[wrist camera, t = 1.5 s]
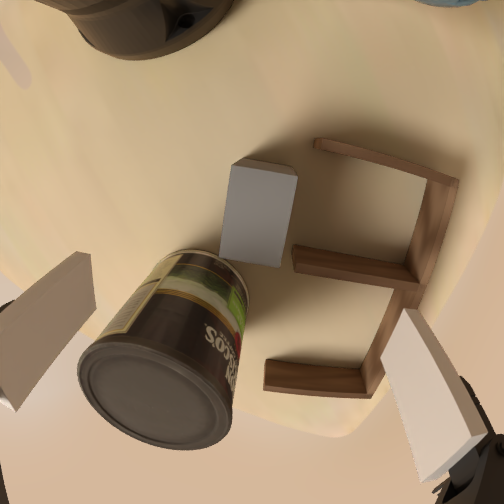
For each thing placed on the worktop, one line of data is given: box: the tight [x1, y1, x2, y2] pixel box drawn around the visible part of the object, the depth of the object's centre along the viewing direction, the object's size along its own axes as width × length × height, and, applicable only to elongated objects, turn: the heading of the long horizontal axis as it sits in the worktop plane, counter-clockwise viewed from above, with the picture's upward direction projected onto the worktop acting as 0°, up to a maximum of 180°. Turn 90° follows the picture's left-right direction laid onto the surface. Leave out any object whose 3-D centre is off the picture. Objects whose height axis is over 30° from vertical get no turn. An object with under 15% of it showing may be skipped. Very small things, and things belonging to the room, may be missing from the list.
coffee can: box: [77, 250, 249, 450], centre depth 22 cm, size 10×10×14 cm
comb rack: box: [263, 138, 459, 399], centre depth 25 cm, size 23×12×4 cm, turn 170°
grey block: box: [219, 158, 298, 268], centre depth 22 cm, size 6×4×7 cm, turn 171°
